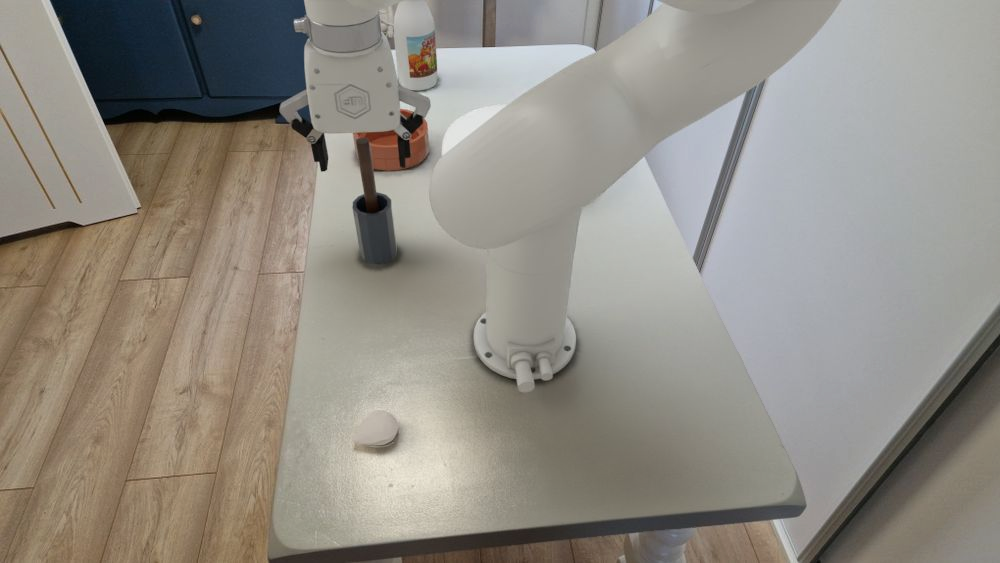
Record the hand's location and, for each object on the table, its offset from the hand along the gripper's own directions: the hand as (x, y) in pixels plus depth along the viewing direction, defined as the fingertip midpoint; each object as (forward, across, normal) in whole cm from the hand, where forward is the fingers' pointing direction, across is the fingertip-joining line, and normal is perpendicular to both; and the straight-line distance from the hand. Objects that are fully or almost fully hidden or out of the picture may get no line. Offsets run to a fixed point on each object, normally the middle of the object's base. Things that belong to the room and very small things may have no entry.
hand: (364, 163), depth 82 cm
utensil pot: (+15, 0, 0) cm, 15 cm away
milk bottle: (+16, +7, +51) cm, 53 cm away
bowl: (+15, +2, +26) cm, 30 cm away
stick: (+15, 0, 0) cm, 15 cm away
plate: (+15, +24, +20) cm, 35 cm away
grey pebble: (+15, 0, -30) cm, 34 cm away
